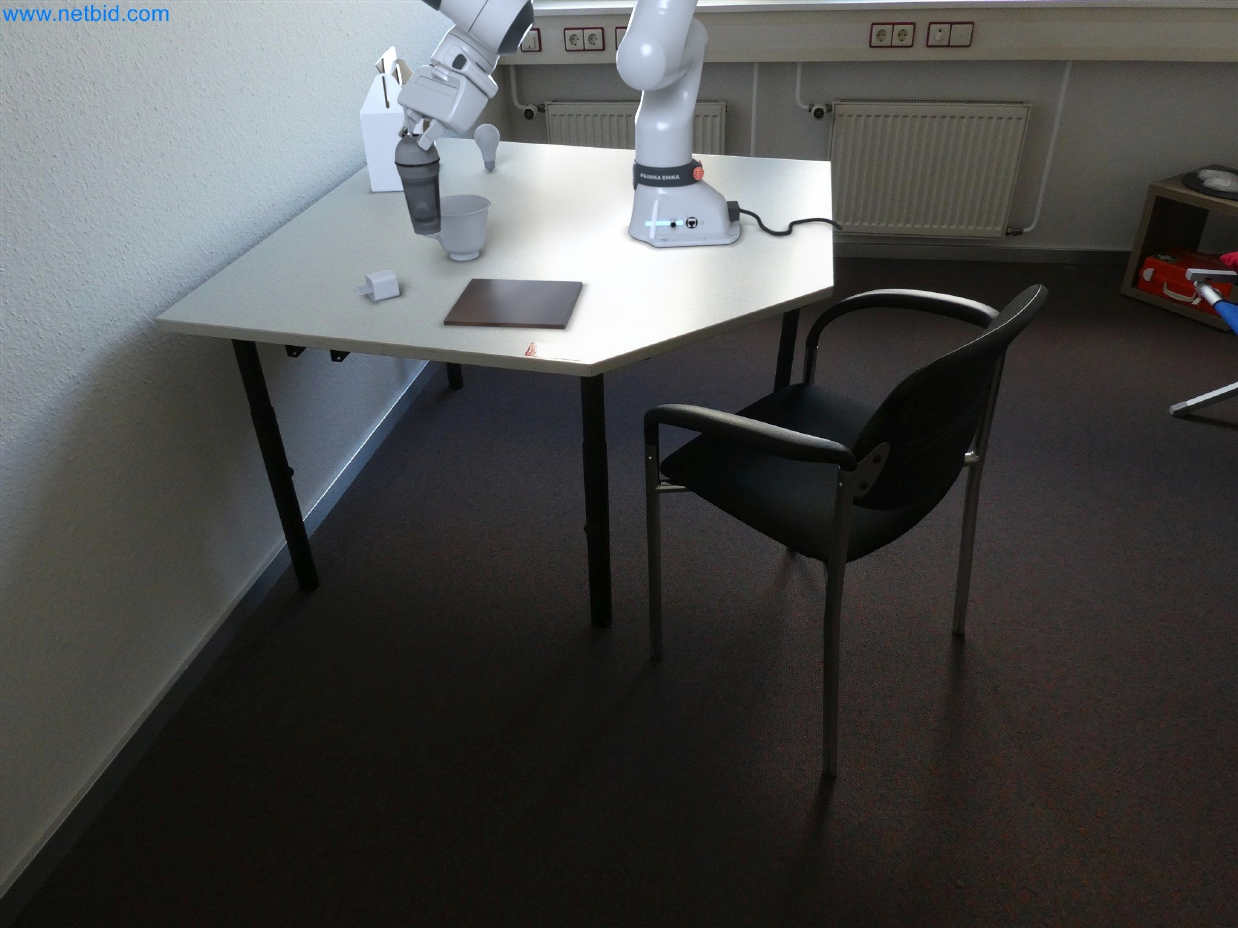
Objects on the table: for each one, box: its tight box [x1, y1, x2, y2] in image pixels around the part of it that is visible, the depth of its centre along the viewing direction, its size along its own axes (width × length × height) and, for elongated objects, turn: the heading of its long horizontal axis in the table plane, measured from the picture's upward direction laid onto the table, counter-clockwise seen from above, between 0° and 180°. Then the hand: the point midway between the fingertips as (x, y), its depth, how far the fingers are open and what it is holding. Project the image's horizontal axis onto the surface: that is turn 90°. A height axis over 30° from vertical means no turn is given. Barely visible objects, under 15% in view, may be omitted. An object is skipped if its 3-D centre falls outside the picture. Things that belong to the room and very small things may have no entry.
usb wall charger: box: [353, 268, 400, 303], centre depth 156 cm, size 4×7×4 cm, turn 123°
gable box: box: [358, 46, 438, 193], centre depth 210 cm, size 22×13×28 cm, turn 4°
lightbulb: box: [474, 123, 501, 172], centre depth 219 cm, size 6×6×11 cm
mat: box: [443, 278, 583, 330], centre depth 154 cm, size 20×18×1 cm
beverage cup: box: [395, 104, 441, 236], centre depth 146 cm, size 7×7×20 cm
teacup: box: [422, 194, 492, 262], centre depth 170 cm, size 12×15×10 cm
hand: (411, 143), depth 143 cm, fingers closed on beverage cup, 5 cm apart
